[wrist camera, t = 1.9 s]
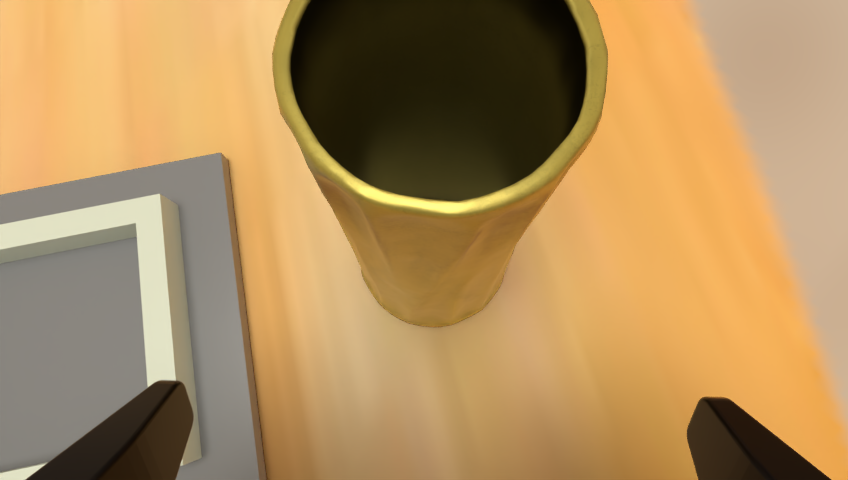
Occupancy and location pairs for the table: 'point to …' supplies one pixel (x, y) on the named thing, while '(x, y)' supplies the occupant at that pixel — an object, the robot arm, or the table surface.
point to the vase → (439, 132)
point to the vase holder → (126, 314)
